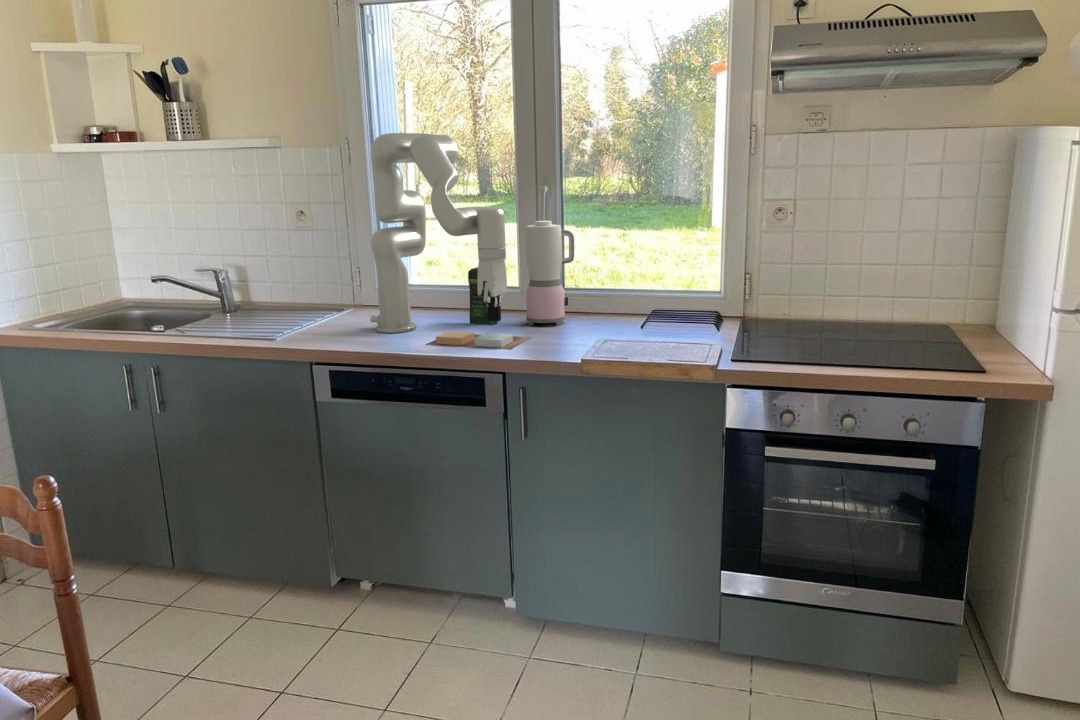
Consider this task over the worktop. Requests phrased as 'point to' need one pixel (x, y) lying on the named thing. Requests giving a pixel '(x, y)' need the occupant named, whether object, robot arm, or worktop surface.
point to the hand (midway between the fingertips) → (494, 320)
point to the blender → (546, 272)
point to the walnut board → (509, 346)
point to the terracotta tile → (455, 338)
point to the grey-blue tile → (494, 340)
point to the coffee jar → (477, 301)
